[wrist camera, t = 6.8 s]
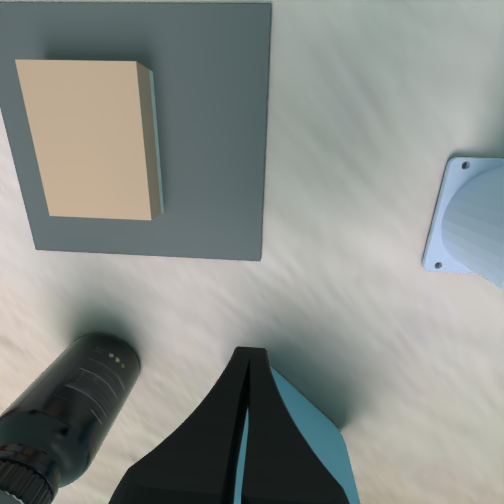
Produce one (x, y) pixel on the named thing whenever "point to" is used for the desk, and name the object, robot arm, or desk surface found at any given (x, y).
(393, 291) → the desk surface
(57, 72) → the tile
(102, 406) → the supplement bottle
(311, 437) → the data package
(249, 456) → the robot arm
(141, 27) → the mat
